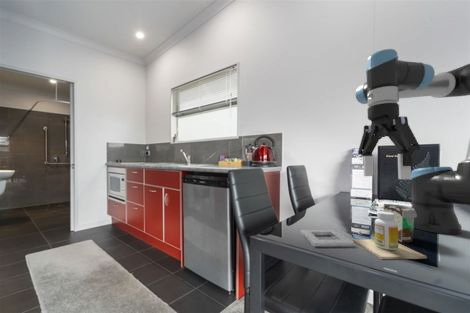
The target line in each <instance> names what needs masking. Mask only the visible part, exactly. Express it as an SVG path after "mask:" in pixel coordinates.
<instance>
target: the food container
mask: <svg viewBox="0 0 470 313" xmlns="http://www.w3.org/2000/svg"><path fill="white" fill-rule="evenodd" d="M411 207H412V206H405V205H399V204H392V203H388V204H387V203H383V208H382V210H384V211H383V212H391V213H394V215H395V219H394V221H395V222H397V224H398V242H401V243H411V242H413V241H414V240H413V239H414V229H415V228H414V218H415V217H417V214H416V211H415V210H414V209H413V208H411Z"/></svg>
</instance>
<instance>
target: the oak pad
mask: <svg viewBox="0 0 470 313" xmlns="http://www.w3.org/2000/svg"><path fill="white" fill-rule="evenodd" d="M352 241H353V242H355V244H357V245H358V246H360V247H362V248H363V249H364V250H366V251H368V252H370V253H371V254H373V255H374V256H376V257H377V258H379V259H380V260H410V259H411V260H419V259H421V260H422V259H425V260H426V259H428V257H427V255H426V254H423V253H421V252H418V251H416V250H414V249H412V248H410V247H408V246H405V245H404V244H401V243H399V242H398V250H386V249H382V248H380V247H378V246H376V245H375V238H374V239H361V238H360V239H356V238H355V239H352Z"/></svg>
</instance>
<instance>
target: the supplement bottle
mask: <svg viewBox="0 0 470 313" xmlns="http://www.w3.org/2000/svg"><path fill="white" fill-rule="evenodd" d="M376 213H377V214H376V216H377V218H376V219H374V239H375V245H376V246H378V247H380V248H382V249H386V250H398V243H399V240H398V224H397V222H395V221H394V219H395V215H394V213H391V212H384V211H382V210H381V211H377V212H376Z"/></svg>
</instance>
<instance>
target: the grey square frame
mask: <svg viewBox="0 0 470 313" xmlns="http://www.w3.org/2000/svg"><path fill="white" fill-rule="evenodd" d="M299 234H300V235H302V236H303V237H304V239H306V240H307V241H308V242H309V244H311V245H312V246H313V247H314V248H327V247H328V248H341V247H342V248H343V247H344V248H346V247H347V248H349V247H355V246H356V245H355V244H356V243H355V242H353V240H351V239H350V238H348V237H347V236H345V235H344V234H342V233H340V232H338V231H337V230H336V229H300V231H299ZM318 236H326V237H327V236H331V237H332V238H334V239H319V237H318Z"/></svg>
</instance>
